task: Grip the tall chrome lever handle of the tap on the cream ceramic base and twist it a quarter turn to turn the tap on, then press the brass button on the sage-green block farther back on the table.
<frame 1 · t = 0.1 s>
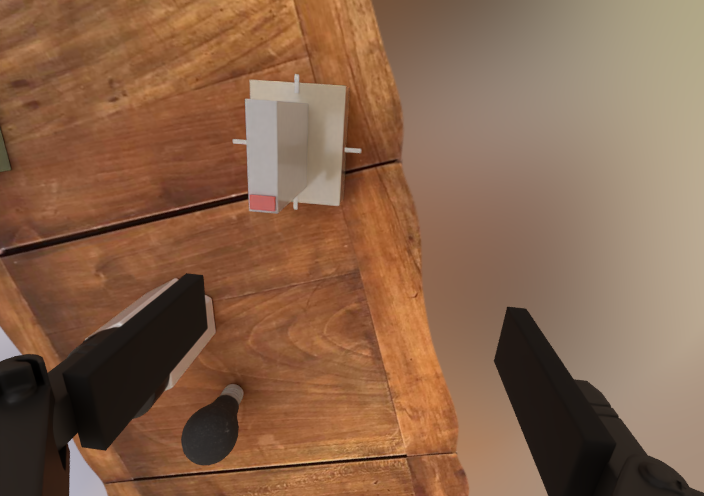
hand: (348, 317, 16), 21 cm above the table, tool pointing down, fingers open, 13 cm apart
tap handle: (281, 151, 28), point 8 cm above the table, hinge at 0.0°
light bulb: (237, 386, 46), on the table
jar: (183, 311, 43), on the table
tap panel: (304, 142, 35), on the table
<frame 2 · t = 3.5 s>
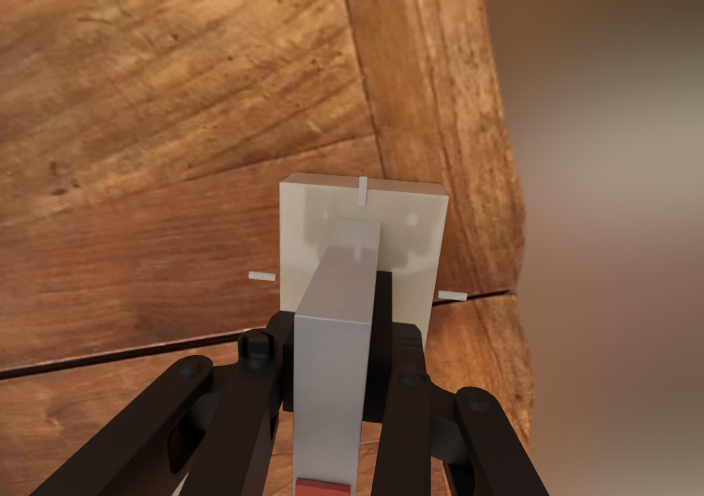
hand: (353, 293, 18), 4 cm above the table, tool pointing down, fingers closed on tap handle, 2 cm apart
tap handle: (345, 336, 15), point 8 cm above the table, hinge at 0.0°, touching gripper
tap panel: (360, 262, 22), on the table
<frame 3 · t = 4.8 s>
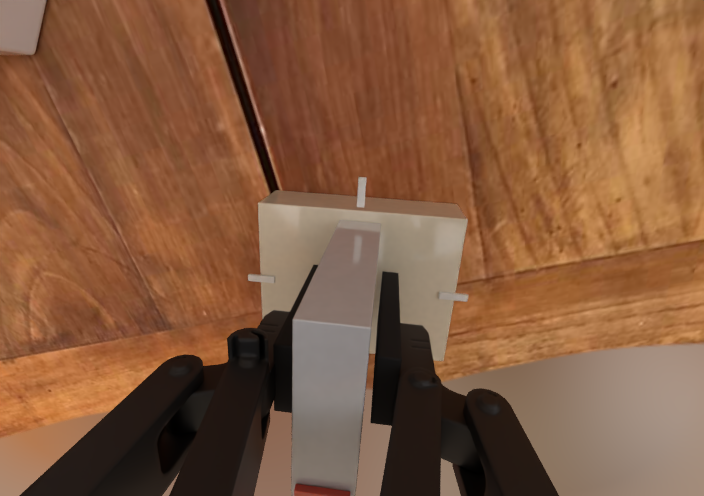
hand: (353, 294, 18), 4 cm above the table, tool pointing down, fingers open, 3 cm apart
tap handle: (344, 339, 15), point 8 cm above the table, hinge at 89.4°
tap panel: (360, 263, 22), on the table
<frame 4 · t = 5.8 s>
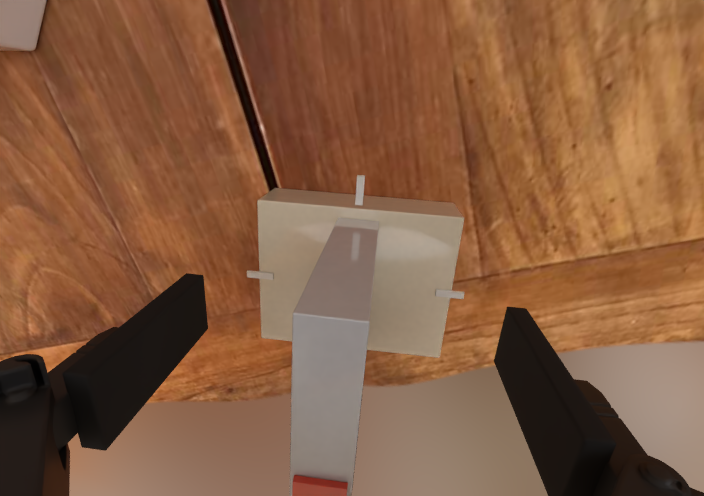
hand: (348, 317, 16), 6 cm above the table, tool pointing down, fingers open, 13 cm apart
tap handle: (342, 335, 15), point 8 cm above the table, hinge at 89.4°
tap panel: (358, 261, 22), on the table
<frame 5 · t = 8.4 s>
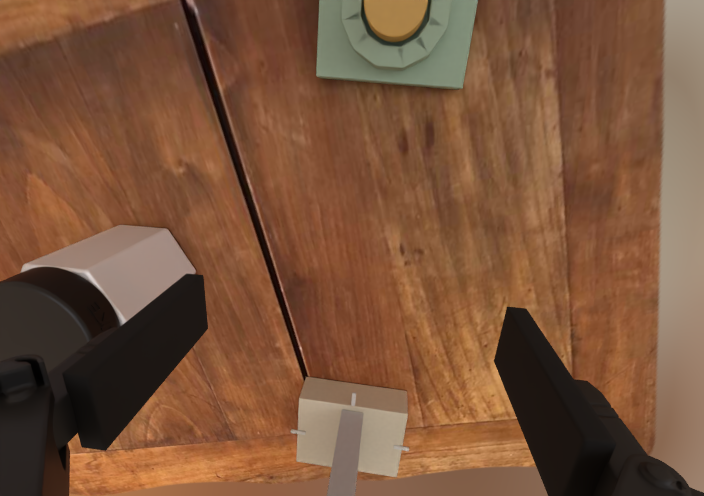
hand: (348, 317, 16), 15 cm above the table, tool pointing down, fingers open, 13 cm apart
button block: (395, 20, 25), on the table
tap handle: (342, 485, 31), point 8 cm above the table, hinge at 89.4°
jar: (152, 265, 34), on the table
button: (395, 4, 22), point 4 cm above the table, slide at 0.1 cm
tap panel: (352, 414, 38), on the table
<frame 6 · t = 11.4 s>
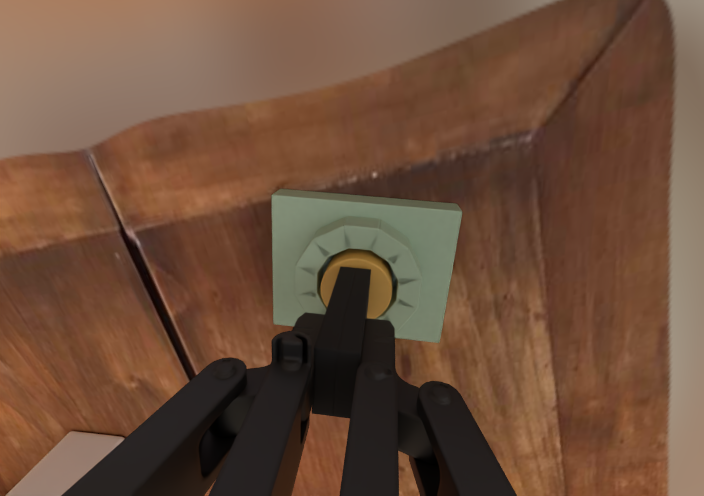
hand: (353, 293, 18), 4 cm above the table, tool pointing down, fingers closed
button block: (362, 261, 22), on the table
jar: (109, 465, 31), on the table
button: (357, 284, 19), point 3 cm above the table, slide at -0.7 cm, touching gripper
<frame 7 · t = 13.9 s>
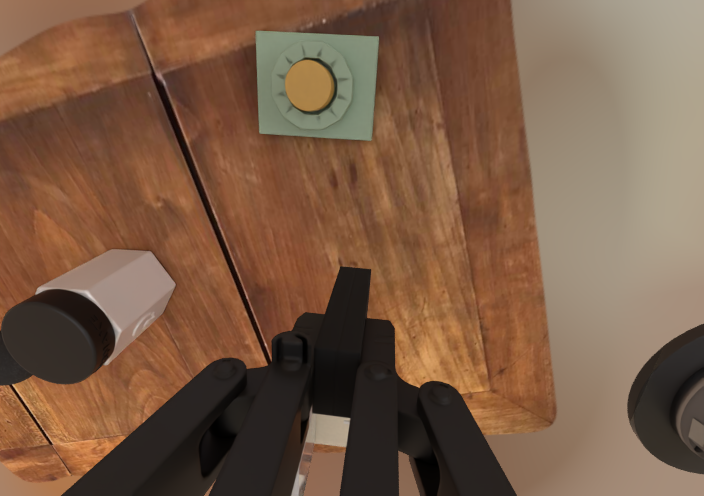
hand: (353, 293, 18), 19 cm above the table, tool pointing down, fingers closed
button block: (318, 88, 33), on the table
tap handle: (298, 452, 38), point 8 cm above the table, hinge at 89.4°
light bulb: (68, 317, 45), on the table
jar: (139, 280, 42), on the table
button: (310, 86, 29), point 4 cm above the table, slide at 0.1 cm
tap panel: (312, 398, 45), on the table
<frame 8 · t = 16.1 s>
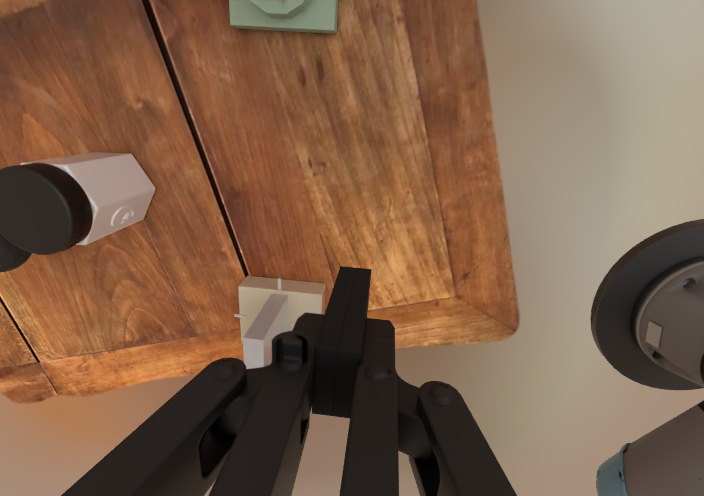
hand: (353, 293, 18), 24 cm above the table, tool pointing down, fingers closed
tap handle: (267, 342, 40), point 8 cm above the table, hinge at 89.4°
light bulb: (54, 226, 47), on the table
jar: (122, 186, 44), on the table
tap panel: (286, 307, 47), on the table
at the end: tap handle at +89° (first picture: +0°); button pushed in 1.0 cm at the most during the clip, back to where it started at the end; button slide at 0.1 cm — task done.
